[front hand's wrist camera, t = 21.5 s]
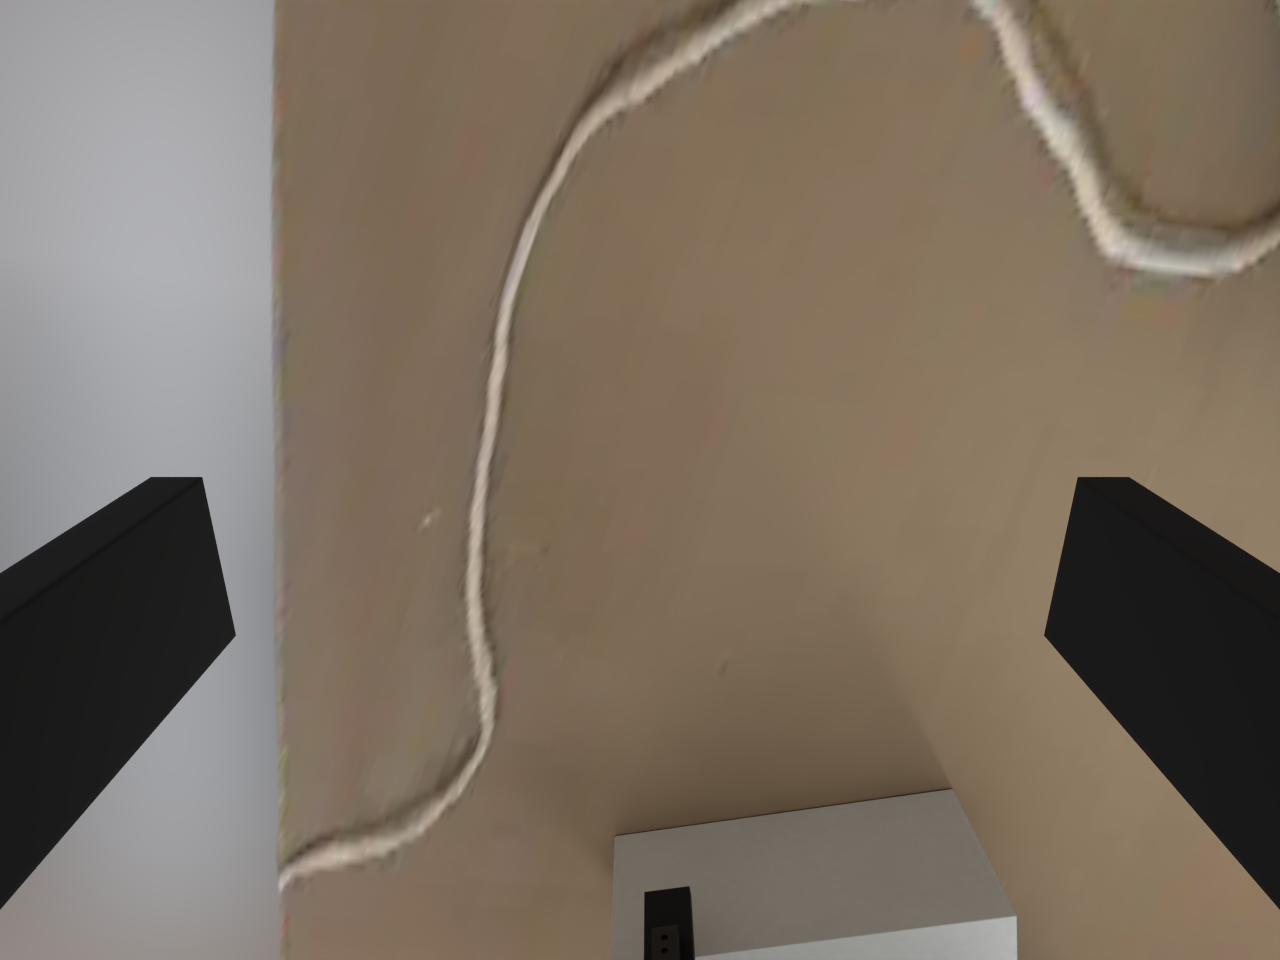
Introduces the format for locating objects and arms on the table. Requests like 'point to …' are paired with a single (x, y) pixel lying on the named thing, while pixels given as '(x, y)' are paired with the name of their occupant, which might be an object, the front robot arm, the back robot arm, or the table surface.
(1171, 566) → the front robot arm
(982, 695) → the table surface
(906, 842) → the box
